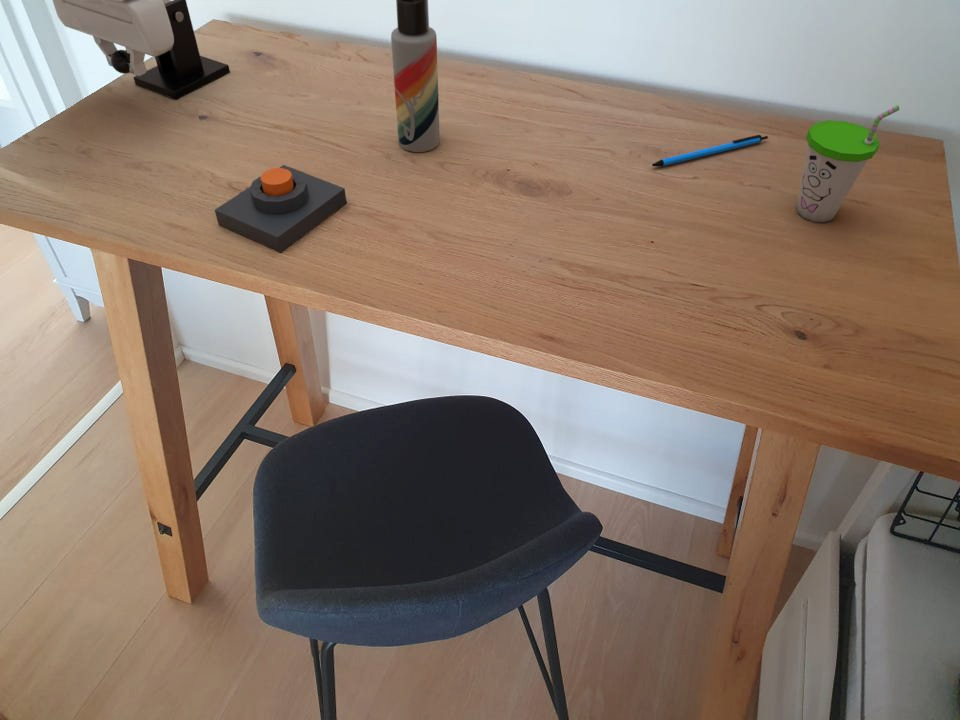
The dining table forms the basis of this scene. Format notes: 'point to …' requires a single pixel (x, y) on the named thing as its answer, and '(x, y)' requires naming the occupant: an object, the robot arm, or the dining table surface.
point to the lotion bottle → (415, 77)
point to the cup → (834, 165)
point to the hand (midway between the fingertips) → (128, 69)
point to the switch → (123, 58)
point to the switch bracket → (181, 60)
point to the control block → (281, 210)
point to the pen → (711, 150)
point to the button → (277, 182)
